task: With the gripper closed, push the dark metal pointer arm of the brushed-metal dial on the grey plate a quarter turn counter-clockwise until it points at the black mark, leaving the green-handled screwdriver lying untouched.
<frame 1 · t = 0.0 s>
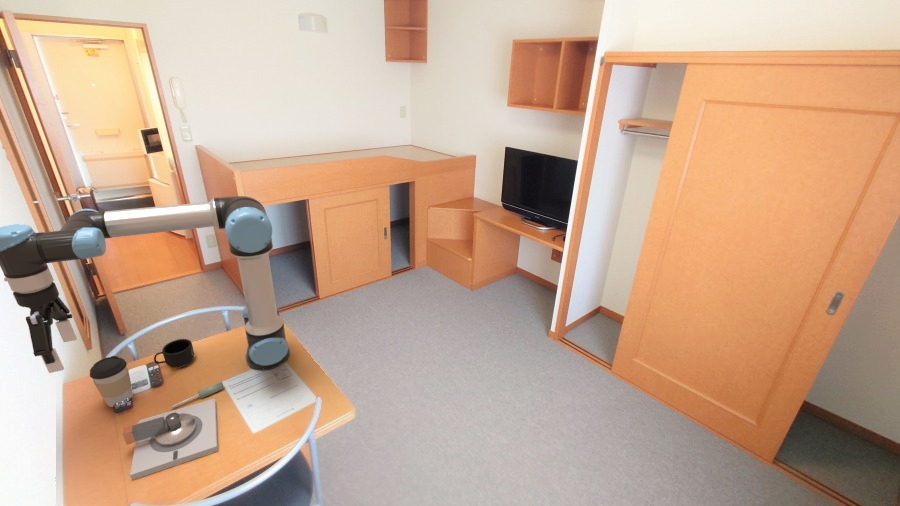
hand: (63, 354, 108), 28 cm above the table, fingers open, 13 cm apart
plate: (178, 437, 119), on the table
mug: (176, 363, 147), on the table
coffee cup: (120, 399, 131), on the table
screwdriver: (201, 396, 133), on the table
dial: (161, 428, 115), point 5 cm above the table, hinge at 0.0°
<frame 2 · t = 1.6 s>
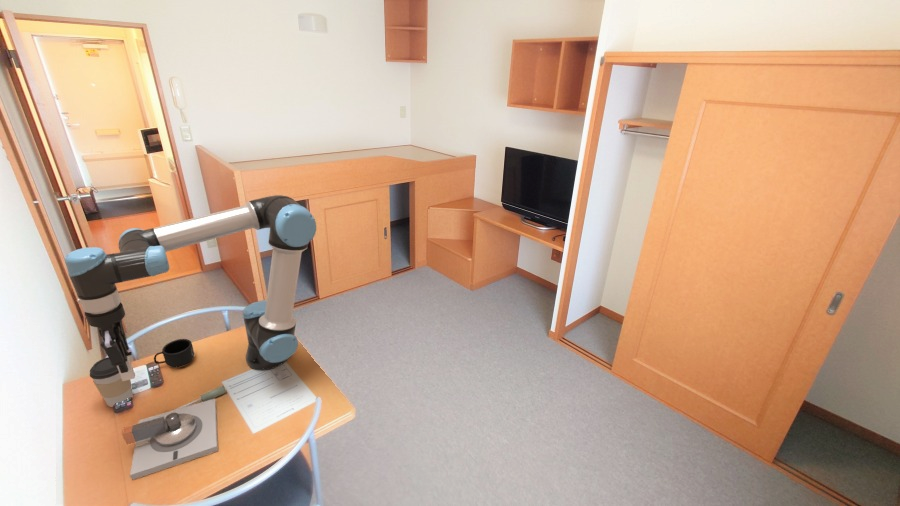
hand: (128, 378, 112), 20 cm above the table, fingers closed
screwdriver: (201, 395, 132), point 2 cm above the table, tilted 111°
everything else where it was.
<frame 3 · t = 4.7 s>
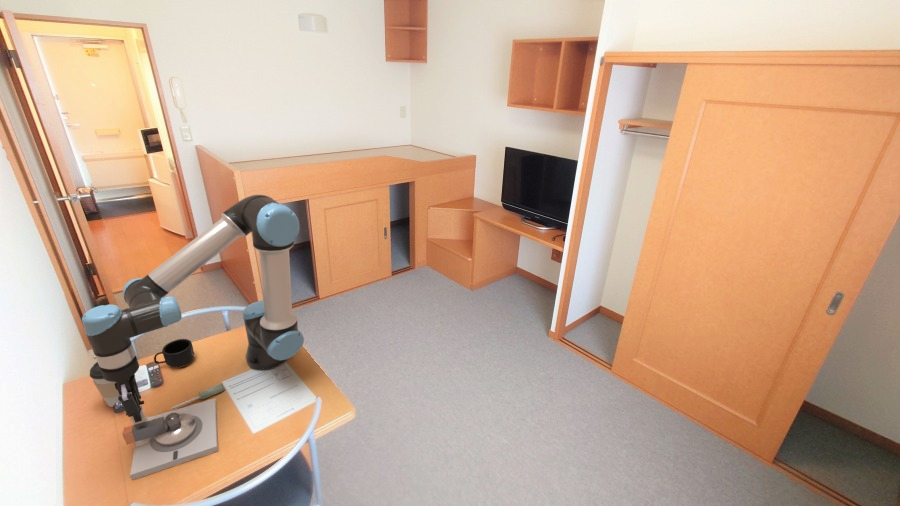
hand: (141, 426, 114), 6 cm above the table, fingers closed
screwdriver: (201, 396, 133), on the table, tilted 45°
dial: (161, 428, 115), point 5 cm above the table, hinge at 0.0°, touching gripper
everything else where it was.
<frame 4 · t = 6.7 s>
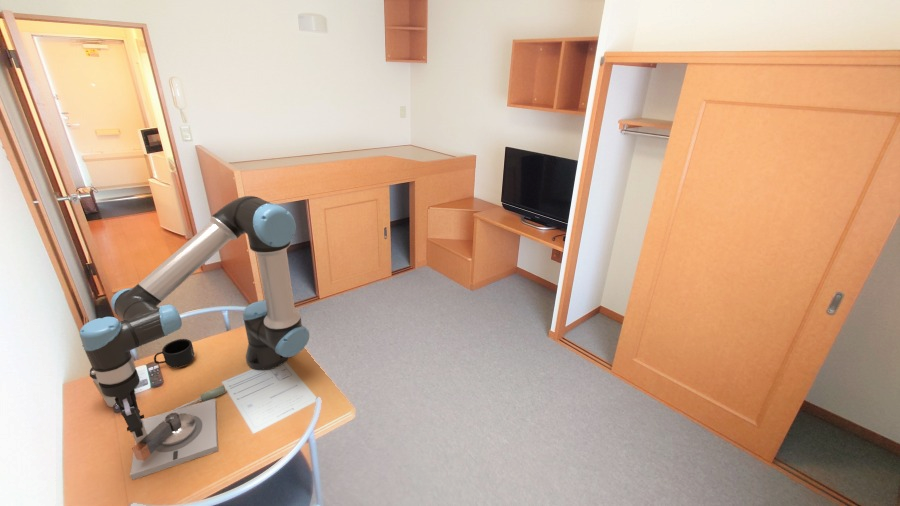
hand: (142, 440, 110), 6 cm above the table, fingers closed
screwdriver: (201, 395, 132), point 1 cm above the table, tilted 101°
dial: (165, 432, 114), point 5 cm above the table, hinge at 48.1°, touching gripper
everything else where it was.
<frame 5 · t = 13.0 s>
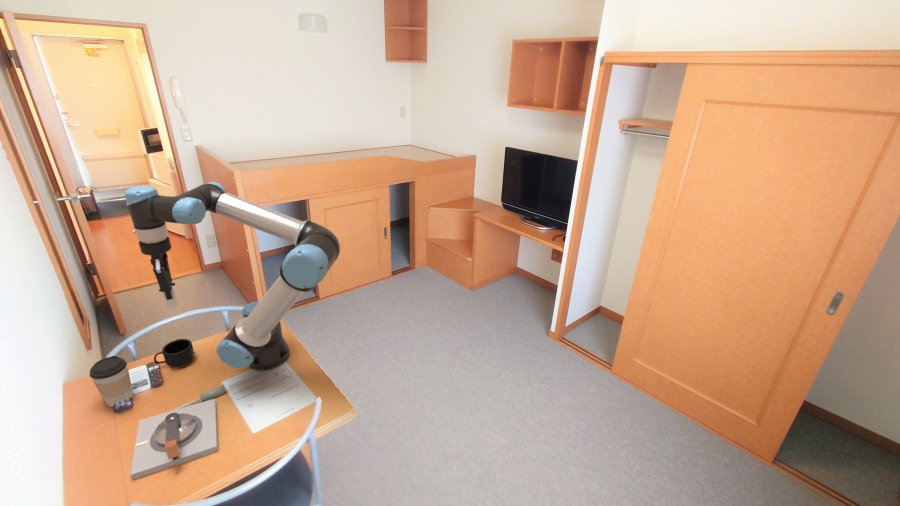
hand: (172, 305, 129), 29 cm above the table, fingers closed
dial: (173, 432, 114), point 5 cm above the table, hinge at 91.4°
everything else where it was.
at the end: dial at +91° (first picture: +0°) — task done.
